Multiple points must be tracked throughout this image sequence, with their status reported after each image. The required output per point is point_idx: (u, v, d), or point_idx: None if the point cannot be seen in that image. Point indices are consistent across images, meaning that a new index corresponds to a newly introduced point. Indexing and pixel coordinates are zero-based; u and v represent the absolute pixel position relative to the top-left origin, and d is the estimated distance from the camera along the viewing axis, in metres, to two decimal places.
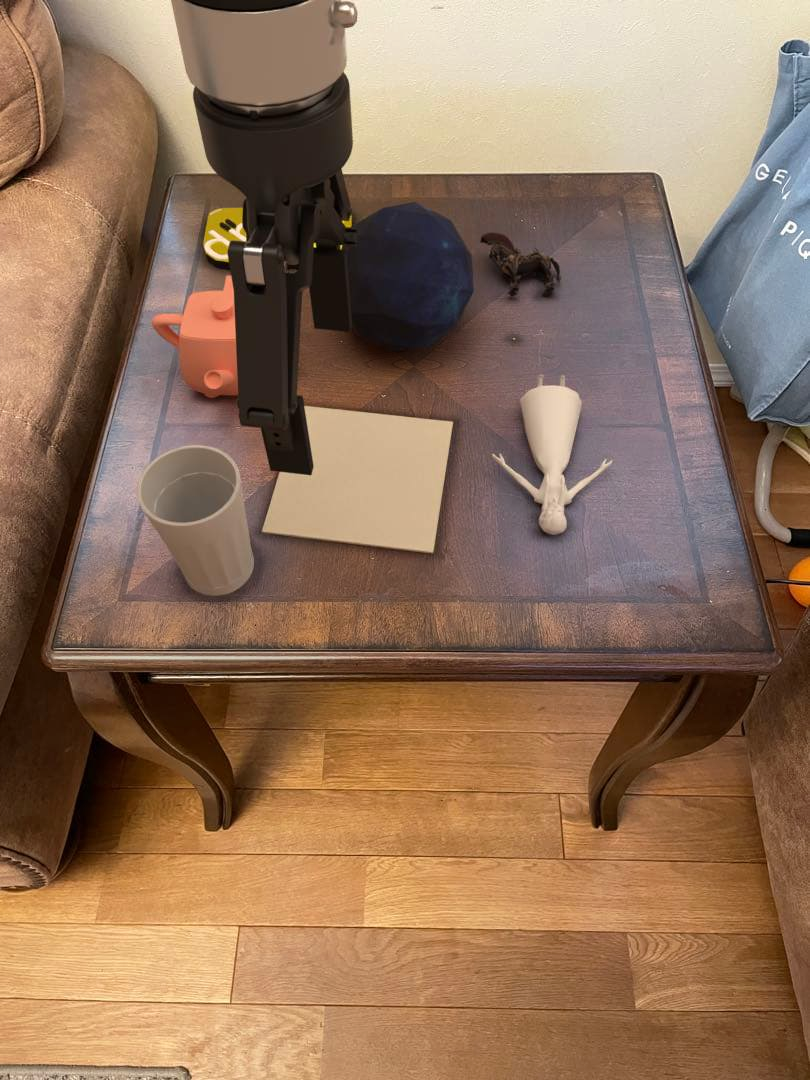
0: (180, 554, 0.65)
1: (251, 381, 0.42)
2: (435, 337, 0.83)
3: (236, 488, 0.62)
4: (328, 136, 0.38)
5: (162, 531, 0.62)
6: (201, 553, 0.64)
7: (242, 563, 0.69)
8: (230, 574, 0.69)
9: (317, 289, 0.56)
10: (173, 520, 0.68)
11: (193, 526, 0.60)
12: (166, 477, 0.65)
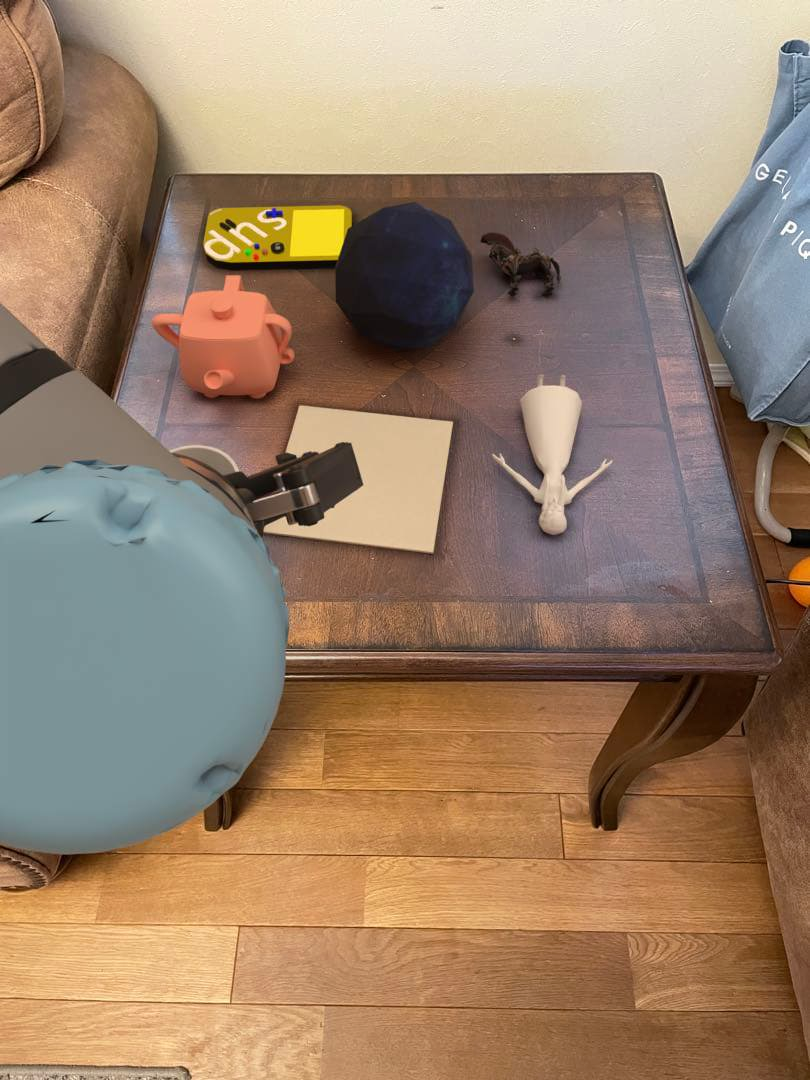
0: None
1: None
2: (435, 337, 0.83)
3: None
4: None
5: None
6: None
7: None
8: None
9: None
10: None
11: None
12: None
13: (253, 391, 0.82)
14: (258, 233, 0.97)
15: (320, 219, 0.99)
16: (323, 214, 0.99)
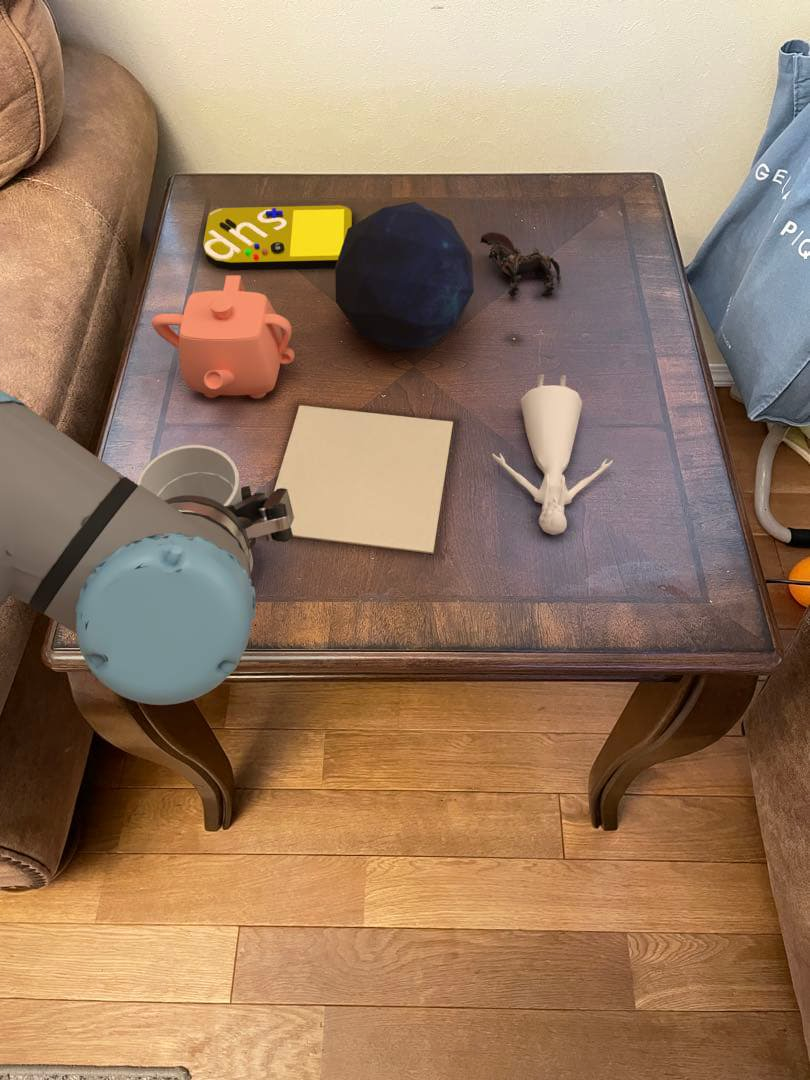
0: None
1: None
2: (435, 337, 0.83)
3: (235, 488, 0.62)
4: None
5: None
6: None
7: None
8: None
9: None
10: None
11: None
12: (165, 477, 0.65)
13: (253, 391, 0.82)
14: (258, 233, 0.97)
15: (320, 219, 0.99)
16: (323, 214, 0.99)
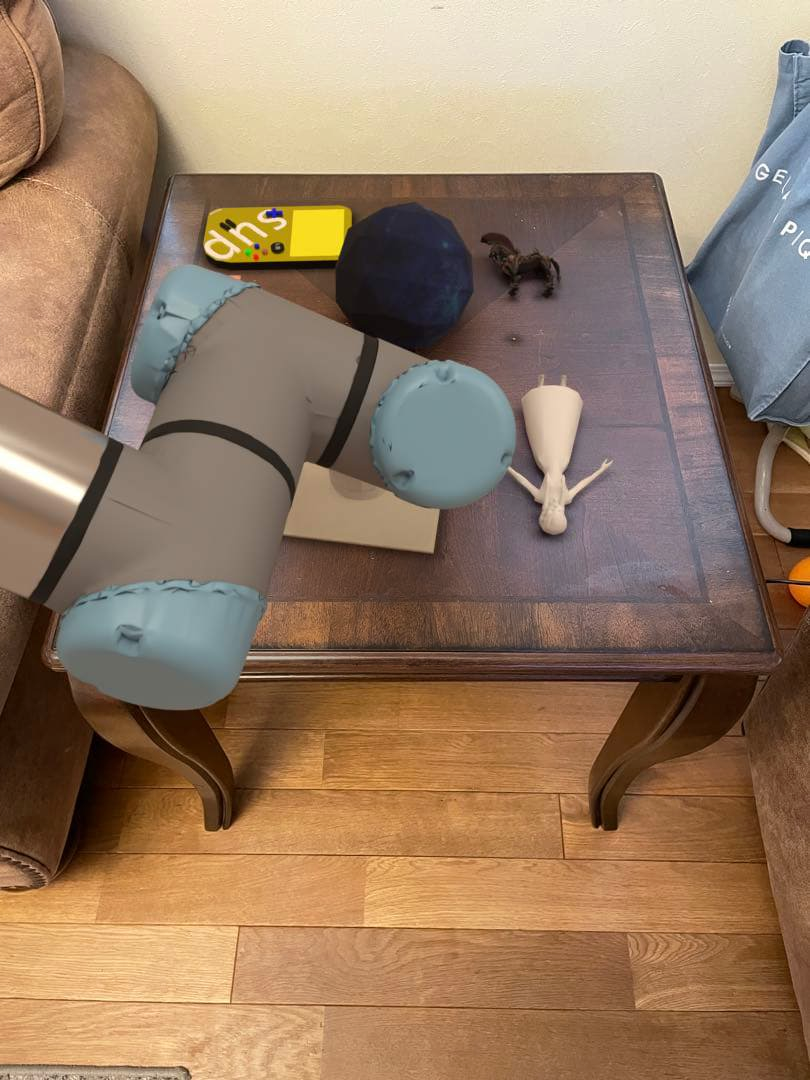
0: None
1: None
2: (435, 337, 0.83)
3: None
4: None
5: None
6: None
7: None
8: None
9: None
10: None
11: None
12: None
13: None
14: (258, 233, 0.97)
15: (320, 219, 0.99)
16: (323, 214, 0.99)
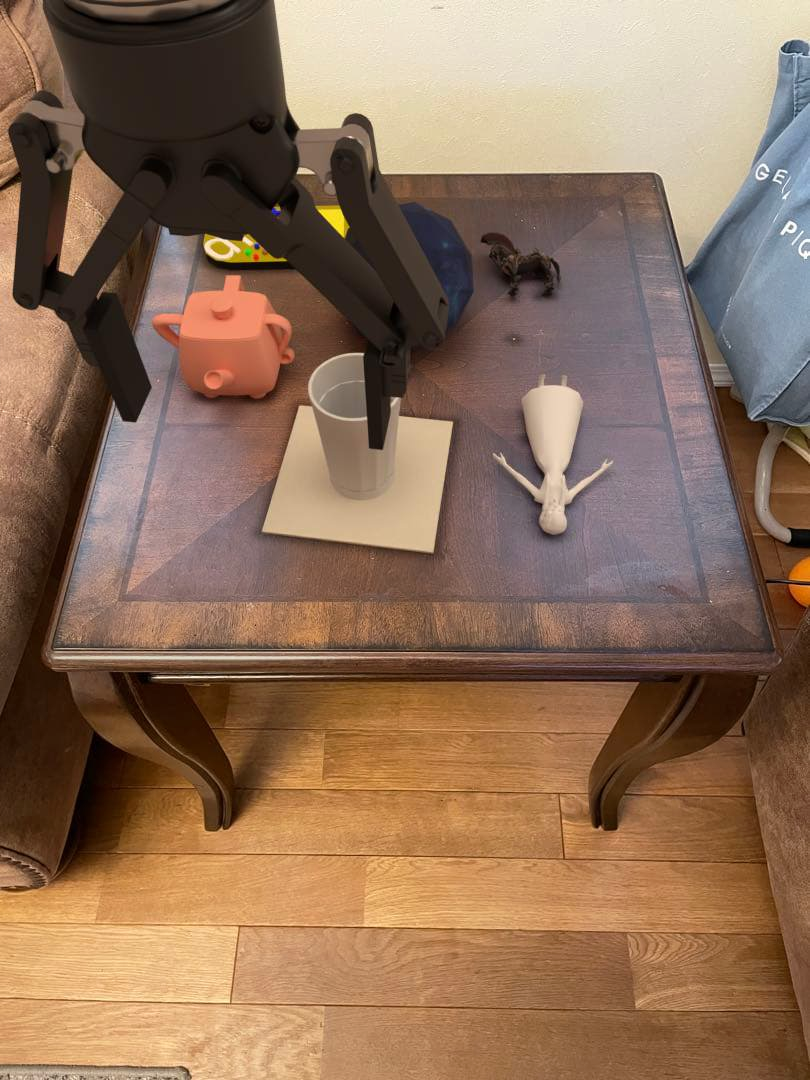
0: (341, 454, 0.70)
1: None
2: None
3: None
4: (73, 63, 0.26)
5: (332, 428, 0.67)
6: (362, 452, 0.70)
7: (390, 468, 0.74)
8: (379, 477, 0.74)
9: None
10: None
11: (364, 421, 0.66)
12: (327, 383, 0.71)
13: (253, 391, 0.82)
14: None
15: None
16: (323, 214, 0.99)
